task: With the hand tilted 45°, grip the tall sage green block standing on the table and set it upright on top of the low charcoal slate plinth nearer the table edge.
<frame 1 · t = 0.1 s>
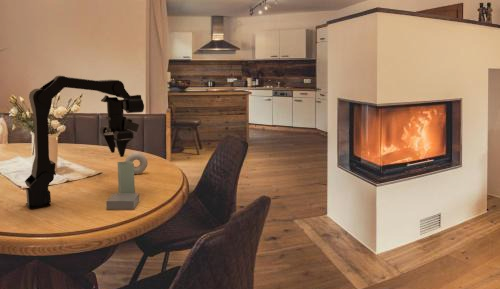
hand: (117, 154, 155), 15 cm above the table, tool pointing down, fingers open, 9 cm apart
slate plinth: (123, 205, 142), on the table
sage green block: (126, 195, 154), on the table
donut: (136, 174, 185), on the table
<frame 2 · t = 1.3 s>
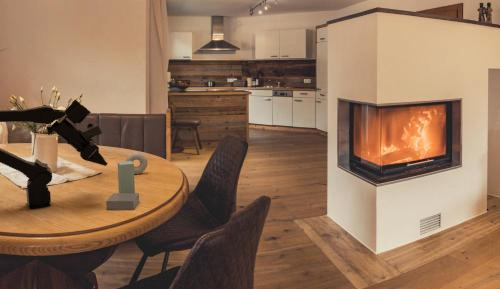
hand: (104, 162, 148), 13 cm above the table, tool tilted 45°, fingers open, 9 cm apart
nothing on the table moved.
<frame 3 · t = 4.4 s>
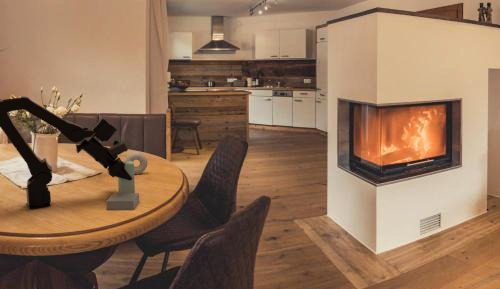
hand: (130, 177, 153), 7 cm above the table, tool tilted 45°, fingers closed on sage green block, 5 cm apart
sage green block: (126, 195, 154), on the table, touching gripper
everything else where it was.
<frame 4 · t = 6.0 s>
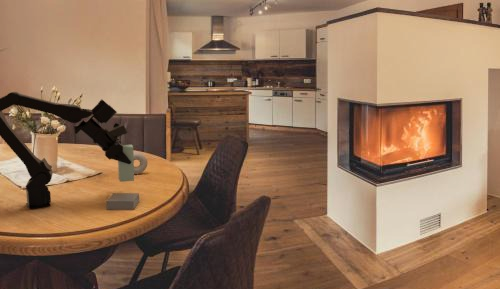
hand: (129, 161, 149), 13 cm above the table, tool tilted 45°, fingers closed on sage green block, 5 cm apart
sage green block: (126, 179, 150), point 7 cm above the table, touching gripper
everything else where it was.
when the fingers open (11 cm above the table, at t = 8.1 s): sage green block drops 1 cm, resting on slate plinth.
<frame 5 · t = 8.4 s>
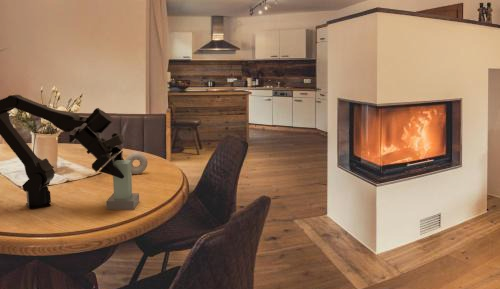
hand: (126, 174, 141), 11 cm above the table, tool tilted 45°, fingers open, 8 cm apart
sage green block: (123, 197, 142), point 3 cm above the table, touching slate plinth
everything else where it was.
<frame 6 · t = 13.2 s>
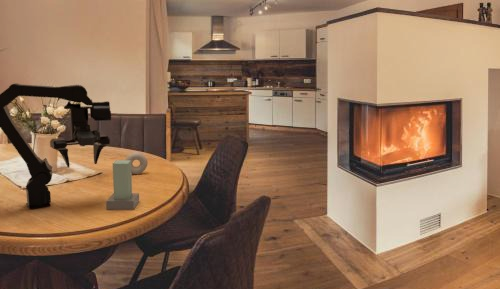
hand: (82, 165, 144), 13 cm above the table, tool pointing down, fingers open, 9 cm apart
nothing on the table moved.
at the end: sage green block 0.1 cm off-centre on the slate plinth, point 3.0 cm above the slate plinth's base; sage green block tilted 0°; the gripper is holding nothing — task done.
